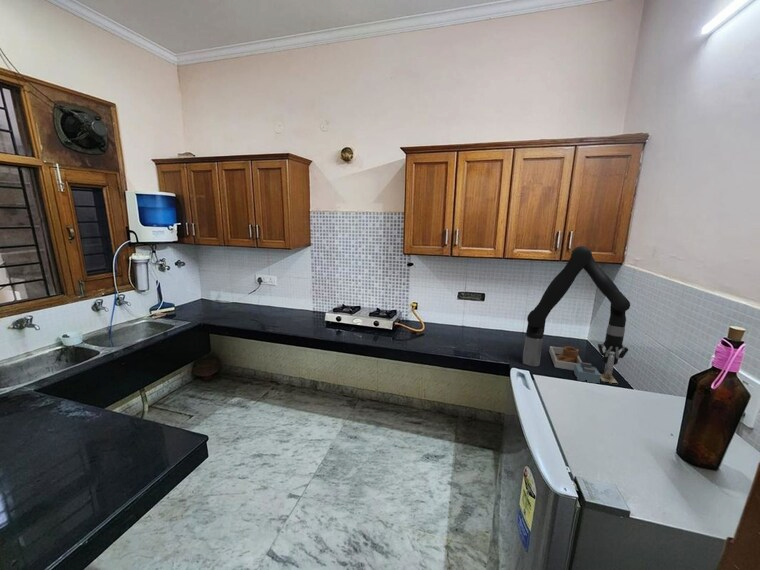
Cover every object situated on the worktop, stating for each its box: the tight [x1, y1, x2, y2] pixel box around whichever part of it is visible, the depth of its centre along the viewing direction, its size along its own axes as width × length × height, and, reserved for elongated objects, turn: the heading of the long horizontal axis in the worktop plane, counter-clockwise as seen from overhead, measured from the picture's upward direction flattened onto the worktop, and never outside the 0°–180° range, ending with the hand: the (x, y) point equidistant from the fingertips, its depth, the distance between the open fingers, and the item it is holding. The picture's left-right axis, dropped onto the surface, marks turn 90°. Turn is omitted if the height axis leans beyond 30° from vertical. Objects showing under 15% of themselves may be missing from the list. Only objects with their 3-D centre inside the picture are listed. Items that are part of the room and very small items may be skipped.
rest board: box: [600, 373, 619, 385], centre depth 171 cm, size 7×9×1 cm
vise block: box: [573, 361, 601, 384], centre depth 172 cm, size 10×10×7 cm
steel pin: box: [603, 352, 615, 378], centre depth 170 cm, size 4×4×13 cm
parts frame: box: [548, 345, 583, 371], centre depth 193 cm, size 14×24×4 cm, turn 159°
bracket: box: [556, 346, 580, 363], centre depth 193 cm, size 18×8×7 cm, turn 119°
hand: (609, 363), depth 169 cm, fingers closed on steel pin, 3 cm apart
